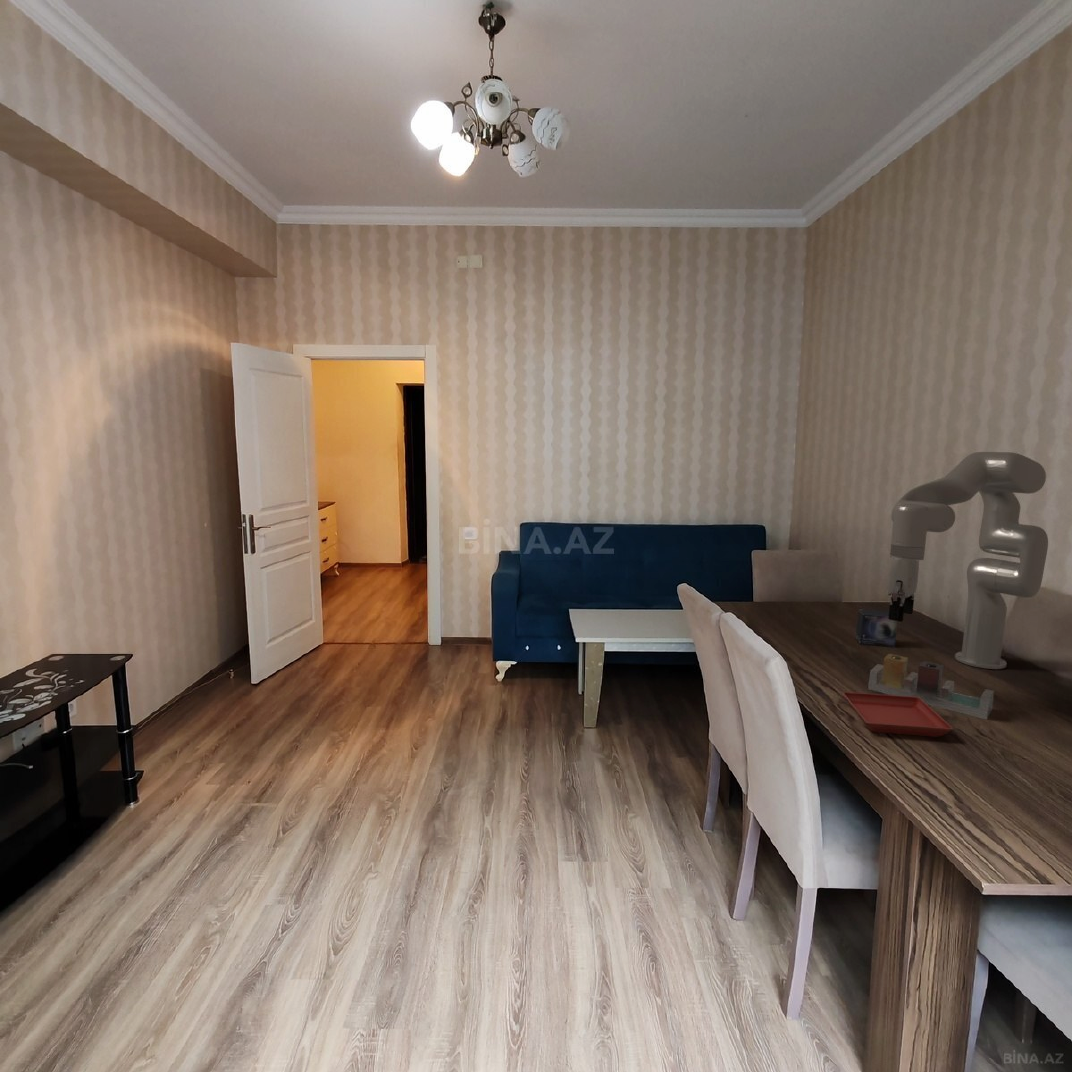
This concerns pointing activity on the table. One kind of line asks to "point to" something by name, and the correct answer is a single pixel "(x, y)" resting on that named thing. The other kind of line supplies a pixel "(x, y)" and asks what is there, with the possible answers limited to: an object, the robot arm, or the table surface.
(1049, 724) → the table surface
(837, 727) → the table surface
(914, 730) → the plant saucer
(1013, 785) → the table surface
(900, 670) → the yellow tall block
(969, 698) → the rail
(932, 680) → the dark knobbed cube
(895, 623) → the small box
